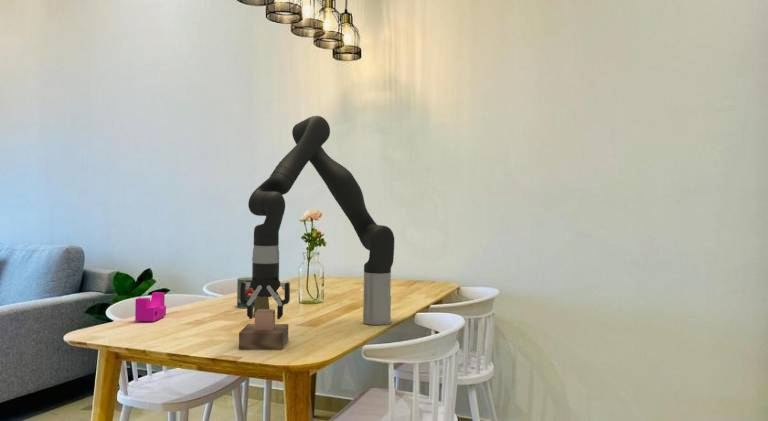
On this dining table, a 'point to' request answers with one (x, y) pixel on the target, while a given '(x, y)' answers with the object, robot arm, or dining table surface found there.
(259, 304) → the cork
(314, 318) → the dining table surface
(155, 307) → the toy block
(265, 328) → the terracotta cube
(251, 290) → the canned tomato
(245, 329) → the walnut base block
